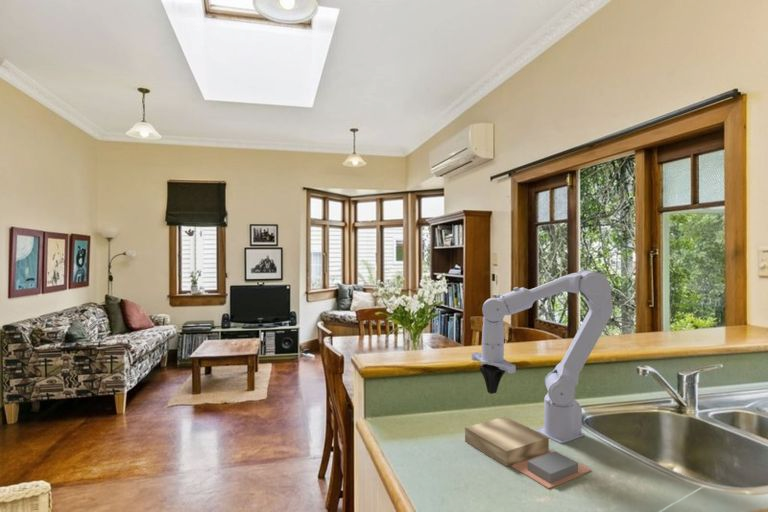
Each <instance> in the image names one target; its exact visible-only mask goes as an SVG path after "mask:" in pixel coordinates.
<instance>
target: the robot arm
mask: <svg viewBox="0 0 768 512" xmlns="http://www.w3.org/2000/svg"><path fill="white" fill-rule="evenodd" d="M612 289H613V288H612V286H611V284H610V282H609V281H608V279H607V278H606V276H605V275H604V274H602V273H600V272H595V271H594V270H591V269H584V270H581V271H579V272H572V273H569V274H566V275H563V276H560V277H557V278H556V279H552V280H551V281H547V282H546V283H543V284H541V285H538V286H535V287H534V288H530V289H528V288H525V287H523V286H522V287H520V288H519V287H518V286H516V287H513V290H511V291H508V292H506V293H503V294H500V293H499V294H495V296H496V297H491V298H488V299H487V300H485V301H484V303H483V304H482V308H481V309H482V310H481V311H482V312H481V313H482V315H483V318H482V323H483V325H482V328H481V329H482V330H481V335H482V336H481V353H480V352H472V353H471V360H472V361H473V362H475V361H477V362H478V363H479V364H481V365H479V371H480V372H481V374H482V377H483V380H484V382H485V387H486V390H487V393H488V394H491V395H493V394H496V393H497V392H498V389H499V384H500V382H501V379H502V377H503V376H504V374H505V372H506V373H507V374H510V375H511V374H515V373H516V372H517V370H516V369H517V367H516V364H513V363H512V362H510V361H508V360H506V359H504V356H505V354H504V352H505V351H504V350H505V326H504V317H505V316H512V315H514V314H516V313H520V312H522V311H525V310H528V309H530V308H531V309H532V307H533V304H534V303H535V302H536V301H539V300H542V299H545V298H549V297H552V296H555V295H558V294H561V293H565V292H567V293H573V294H579V293H580V294H581V295H582V296H583V298H584V299H585V303H586V305H587V307H588V312H587V313H586V315H585V317H584V319H583V320H582V323H581V324H580V327H579V328H578V329H577V332H576V333H575V336H573V337H574V338H573V339H572V341H571V342H570V343H569V344H570V345H569V347H568V349H567V350H566V352H565V354H564V356H563V357H562V359H561V361H560V362H559V363H558V364H556V365H555V367H554V369H553V370H552V371H550V372H549V373H548V374H547V375H546V376H545V378H544V385H545V388H546V389H547V393H546V394H545V396H544V399H543V427H542V428H539V429H536V430H535V431H537V432H539V433H541V434H543V435H545V436H547V437H549V440H552V441H554V442H556V443H558V444H565V443H568V442H570V441H574V440H577V439H579V438H581V437H585V433H583V431H582V426H583V425H582V424H583V423H582V422H583V419H582V418H583V409H582V406H581V405H580V403H579V401H577V400H576V399H575V397H576V388H577V385H578V384H579V378H580V373H581V371H582V370H583V368H584V366H585V364H586V362H587V361H588V359H589V357H590V355H591V353H592V351H593V350H594V348H595V346H596V344H597V342H598V341H599V340H600V339H599V338H600V337H601V335H602V334H603V331H604V330H605V328H606V326H607V324H608V322H609V321H610V319H611V317H612V315H613V312H614V308H613V299H612Z"/></svg>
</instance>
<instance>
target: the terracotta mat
mask: <svg viewBox="0 0 768 512" xmlns="http://www.w3.org/2000/svg"><path fill="white" fill-rule="evenodd" d="M554 451H555V452H557V451H556V450H550V451H549V452H546V453H543V454H540V455H538V456H535V457H532V458H529V459H527V460H524V461H521V462H518V463H516V464H513V465H510V466H511V467H512V468H513V469H515V470H516V471H518V472H520V473H521V474H523V475H525V476H526V477H528V478H529V479H531V480H533V481H535V482H537V483H538V484H539V485H542V486H543V487H544V488H546V489H548V490H549V489H552V488H555V487H557V486H559V485H562V484H563V483H564V484H565V483H566V482H569V481H571V480H573V479H575V478H578V477H580V476H583V475H585V474H587V473H590V472H592V469H591V468H589V467H587V466H585V465H583V464H581V463H579V462H577V463H578V472H577V473H574V474H572V475H570V476H567V477H565V478H563V479H560V480H558V481H555V482H553V483H551V484H550V483H549V482H547V481H545V480H544V479H542V478H540V477H538V476H537V475H535V474H533V473H532V472H530V471H528V461H530V460H532V459H535V458H538V457H540V456H543V455H546V454H549V453H551V452H554ZM557 453H559V452H557ZM559 454H561V453H559Z"/></svg>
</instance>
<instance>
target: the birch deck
mask: <svg viewBox="0 0 768 512" xmlns="http://www.w3.org/2000/svg"><path fill="white" fill-rule="evenodd" d="M464 441H465V442H466V443H467V444H469V445H470V446H471V447H474V448H475V449H477V450H478V451H481V452H482V453H484V454H486V455H487V456H488V457H490V458H492V459H493V460H495V461H497V462H498V463H499V464H502V465H503V466H504V467H510V466H511V465H514V464H516V463H519V462H522V461H525V460H527V459H530V458H533V457H536V456H539V455H541V454H544V453H547V452H550V451H549V450H550V449H549V447H550V445H549V442H550V438H549V437H547V436H545V435H543V434H541V433H539V432H537V431H536V430H534V429H533V428H530V427H529V426H526V425H524V424H522V423H520V422H518V421H516V420H514V419H511V418H510V417H507V416H502V417H499V418H494V419H492V420H487V421H485V422H480V423H476V424H473V425H469V426H465V428H464Z"/></svg>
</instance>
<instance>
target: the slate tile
mask: <svg viewBox="0 0 768 512" xmlns="http://www.w3.org/2000/svg"><path fill="white" fill-rule="evenodd" d="M555 451H556V450H554V452H551V453H549V454H546V455H543V456H540V457H538V458H535V459H532V460H530V461H528V471H530V472H532V473H533V474H535V475H537V476H538V477H540V478H542V479H544V480H545V481H547V482H549V483H550V484H551V483H553V482H555V481H558V480H560V479H563V478H565V477H567V476H570V475H572V474H574V473H577V472H578V463H579V462H578V461H575V460H574V459H572V458H569V457H567V456H565V455H563V454H562V453H560V454H559V452H558V453H557V451H556V452H555Z"/></svg>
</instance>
